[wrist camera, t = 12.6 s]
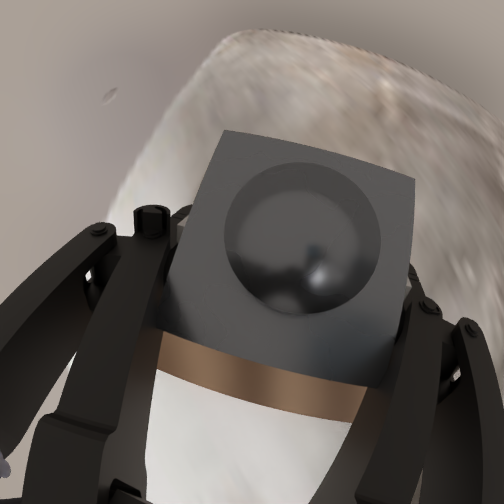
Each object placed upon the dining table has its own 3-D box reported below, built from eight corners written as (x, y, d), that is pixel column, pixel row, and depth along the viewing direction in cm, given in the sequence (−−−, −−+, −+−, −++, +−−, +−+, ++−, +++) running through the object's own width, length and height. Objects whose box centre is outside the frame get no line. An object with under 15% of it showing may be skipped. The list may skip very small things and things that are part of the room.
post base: (398, 222, 20) (435, 187, 14) (352, 417, 17) (382, 451, 11) (214, 174, 23) (195, 126, 16) (152, 360, 19) (107, 372, 13)
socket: (344, 254, 17) (431, 160, 6) (320, 352, 16) (399, 399, 5) (249, 228, 18) (218, 105, 7) (220, 324, 17) (131, 326, 6)
